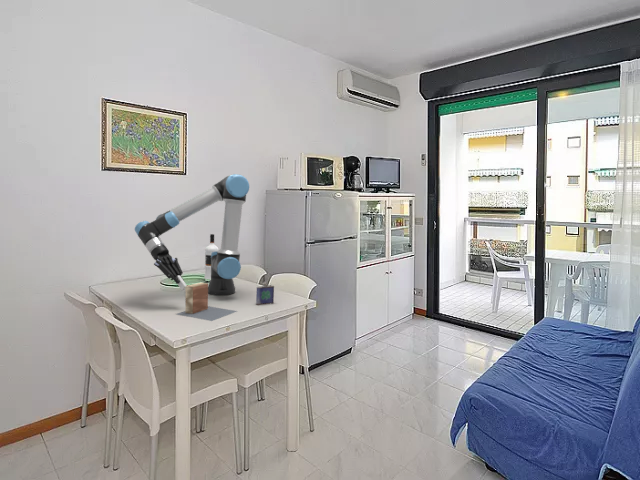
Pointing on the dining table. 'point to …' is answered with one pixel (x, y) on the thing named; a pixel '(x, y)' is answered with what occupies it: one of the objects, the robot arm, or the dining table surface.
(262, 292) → the flask
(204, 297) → the wooden block
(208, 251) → the vodka
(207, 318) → the mat
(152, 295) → the dining table surface
